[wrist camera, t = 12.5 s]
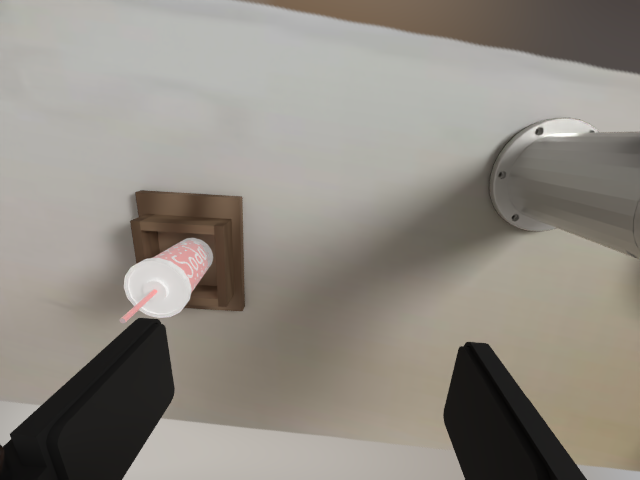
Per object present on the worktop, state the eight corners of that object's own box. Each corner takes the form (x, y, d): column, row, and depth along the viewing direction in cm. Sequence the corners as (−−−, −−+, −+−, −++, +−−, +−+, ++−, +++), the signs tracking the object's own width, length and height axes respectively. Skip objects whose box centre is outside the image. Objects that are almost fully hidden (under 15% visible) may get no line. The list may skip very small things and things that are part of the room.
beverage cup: (227, 270, 38) (174, 342, 24) (182, 283, 38) (107, 360, 25) (207, 225, 36) (138, 277, 22) (161, 239, 36) (67, 297, 23)
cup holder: (242, 196, 36) (231, 204, 32) (244, 306, 41) (235, 325, 36) (141, 190, 36) (117, 197, 31) (155, 301, 40) (136, 319, 36)
